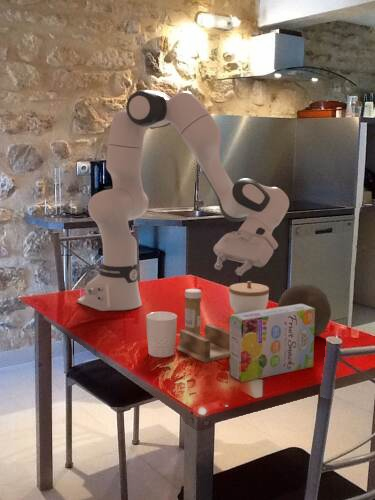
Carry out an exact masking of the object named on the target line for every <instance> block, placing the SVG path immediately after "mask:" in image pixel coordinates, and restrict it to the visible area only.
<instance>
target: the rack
mask: <svg viewBox="0 0 375 500" xmlns="http://www.w3.org/2000/svg"><path fill="white" fill-rule="evenodd" d="M204 327H205V328H204V337H203V336H202V335H201V336H199V335H196V334H194V333H192V332H189V331H187V330H185V328H183V329H180V330H179V345H176V350H178V351H180V352H181V353H184V354H185V355H188V356H190V357H192V358H194V359H196V360H198V361H200V362H201V363H210V362H213V361H216V360H217V361H218V360H222V359H224V358H229V347H230V330H229V331H228V330H226V329H224V328H221V327H219V326H216V325H214V324H212V323H208V324H205V325H204Z"/></svg>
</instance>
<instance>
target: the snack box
mask: <svg viewBox="0 0 375 500" xmlns="http://www.w3.org/2000/svg"><path fill="white" fill-rule="evenodd" d="M314 322H315V308H312V307H310V306H307V305H304V304H296V305H290V306H283V307H278V306H277V307H272V308H271V307H270V308H266V309H264V310H258V311H251V312H245V313H238V314H236V313H234V314H233V313H232V314H230V315H229V332H230V347H229V357H228V362H229V364H228V365H229V367H228V369H229V370H228V373H229V374H228V375H229V377H231V378H233V379H235V380H237V381H238V382H240V383H245V382H249V381H253V380H254V381H255V380H258V379H262V378H268V377H271V376H277V375H281V374H285V373H290V372H295V371H300V370H303V369H309V368H313V367H314V351H315V350H314V349H315V347H314V345H315V337H314Z"/></svg>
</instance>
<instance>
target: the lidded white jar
mask: <svg viewBox="0 0 375 500" xmlns="http://www.w3.org/2000/svg"><path fill="white" fill-rule="evenodd" d="M228 291H229V297H228V299H229V304H230V307H231V309H232V311H233V312H234V314H238V313H245V312H251V311H254V310H264V309H267V306H268V303H269V293H270V288H269V286H268V285H264V284H260V283H254V282H252V281H251V280H248V281H247V282H237V283H234V284H233V283H232V284H230V286H229V287H228Z"/></svg>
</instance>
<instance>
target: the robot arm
mask: <svg viewBox="0 0 375 500" xmlns="http://www.w3.org/2000/svg"><path fill="white" fill-rule="evenodd" d="M169 125H172V126H173V127H174V128H175V129H176V131H177V133H178V134H179V136H180V137H181V138H182V140H183V142H184V143H185V144H186V146H187V148H188V149H189V150H190V152H191V153H192V155H193V156H194V158H195V160H196V162H197V164H198V166H199V167H200V170H201V172H202V173H203V175H204V178H205V179H206V181H207V182H208V184H209V186H210V187H211V189H212V191H213V192H214V194H215V196H216V199H217V202H218V207H219V210H220V213H221V214H222V216H223V217H224V218H225V219H227V220H228V221H229V222H232V223H233V222H234V223H239V222H243V223H242V224H241V225H240V227H239V229H238V230H237V231H235V230H234V231H233V230H231V232H227V233H225V234H224V235H223V236H222V237H221V238H220V239H219V240H218V241H217V243H215V244H214V246H213V253H215V255H216V256H217V259H216V262H215V264H214V265H213V267H214V268H215V270H218V271H221V270H222V268H223V267H224V266H223V263H224V262H225V261H226V260H230V261H234V262H238V263H242V265H241V266H237V268H236V269H235V271H234V274H236V275H237V276H240V277H242V276H243V275H244V274H245V272H247V271H248V270H250V269H251V268H252V267H254V266H255V267H258V268H262V267H264V266H265V265H266V264H267V263H268V262H269V260H270V259H271V257H272V256H273V254H274V250H276V249H277V248H278V247H279V243H278V242H277V240H276V239H275V238H274V237H273V235H272V234H273V231H274V229H275V228H276V227H278V226H279V225H280V223H281V222H282V220H283V219H284V217H285V216H286V214H287V212H288V209H289V207H290V200H289V197H288V195H287V194H286V193H285V191H284V190H282V189H281V188H279V187H276V186H266V185H263V184H261V183H258V182H257V181H256V180H255V179H252V178H247V177H245V178H244V177H243V178H240V179H239V180H236V181H235V183H233V181H232V180H231V178H230V177H229V175H228V173H227V171H226V169H225V168H224V166H223V164H222V161H221V157H220V156H221V154H220V150H221V141H222V133H221V130H220V128H219V126H218V123H217V122H216V120H215V118H214V117H213V116H212V114H211V113H210V112H209V110H208V109H207V107H206V106H205V104H203V103H202V102H201V101H200V99H199V98H198V97H196V96H195V94H193V93H192V92H191V91H187V90H184V91H179V92H177V93H176V94H173V96H172V95H171V94H168V93H166V92H162V91H159V90H155V89H152V90H151V89H150V90H149V89H141V90H138V91H135V92H133V93H132V94H131V95H130V96H129V97H128V99H127V101H126V106H125V109H122V110H119V111H117V112H115V113H114V114H113V118H112V121H111V124H110V128H109V133H108V140H107V149H106V152H107V153H106V161H105V162H106V163H105V168H106V170H107V172H108V173H109V175H110V177H111V181H112V188H111V189H104V190H100V191H99V192H97V193H94V194H93V196H91V197H90V198H89V200H88V203H87V211H88V215H89V217H90V218H91V219H92V220H93V221H94V222H95V223H96V225H97V227H98V229H99V232H100V237H101V242H102V256H103V257H102V259H103V260H102V261H103V263H101V264H98V265H96V267H97V268H96V269H98V270H99V269H100V270H99V272H98V274H97V275H96V276H95V277H94V278H93V279H91V280H90V281H88V282H87V284H86V285H85V287H84V295H83V296H81V297H79V298H78V299H77V303H78V304H81V305H83V306H86V307H89V308H92V309H95V310H97V311H100V312H108V311H127V310H134V309H137V308H140V307H141V306H142V305H143V303H142V299H141V295H140V289H139V282H138V281H139V280H138V278H139V263H138V261H137V260H138V259H137V258H138V250H137V249H138V248H137V246H138V245H137V244H138V243H137V240H136V238H135V237H134V236H133V234H132V232H131V229H130V226H129V221H135V220H136V219H138V218H140V217H142V216H143V215H144V214H145V213H146V212H147V211H148V209H149V203H150V202H149V197H148V195H147V194H146V193H145V191H144V188H143V183H142V173H141V168H142V157H143V148H144V147H143V146H144V138H145V133H146V131H147V130H149V129H150V130H154V129H158V128H159V129H160V128H164V127H167V126H169Z"/></svg>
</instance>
